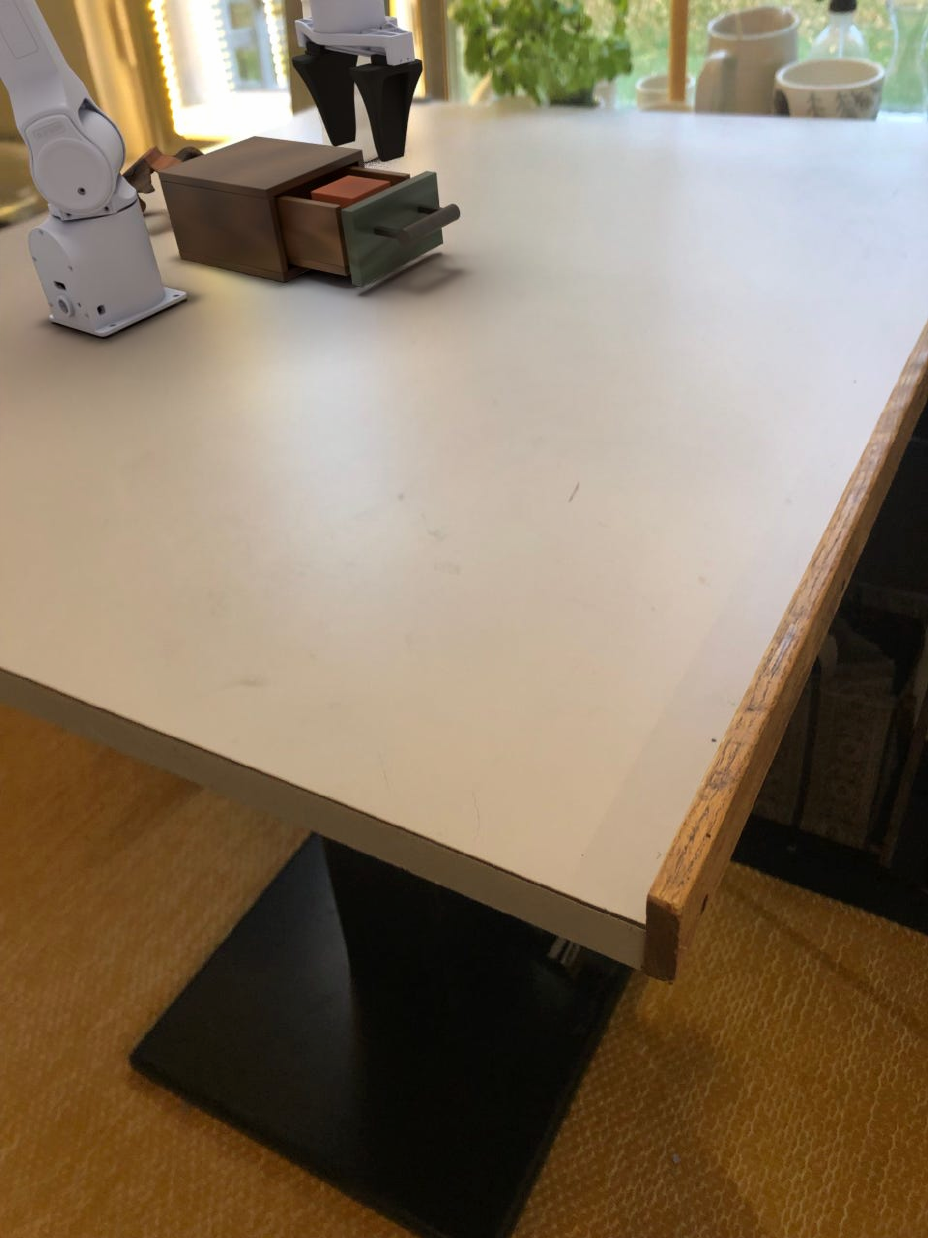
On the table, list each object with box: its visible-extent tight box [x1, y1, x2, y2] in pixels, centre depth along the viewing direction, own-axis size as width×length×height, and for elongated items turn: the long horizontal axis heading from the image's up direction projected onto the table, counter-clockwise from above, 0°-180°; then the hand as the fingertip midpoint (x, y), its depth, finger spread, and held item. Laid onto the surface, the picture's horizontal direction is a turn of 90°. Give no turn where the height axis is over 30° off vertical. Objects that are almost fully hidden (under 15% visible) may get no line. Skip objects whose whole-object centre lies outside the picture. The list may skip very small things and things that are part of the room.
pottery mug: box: [121, 145, 205, 214], centre depth 105 cm, size 12×10×8 cm
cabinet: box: [157, 135, 366, 283], centre depth 94 cm, size 15×13×8 cm
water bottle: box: [300, 0, 379, 163], centre depth 111 cm, size 7×7×25 cm
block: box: [311, 176, 390, 209], centre depth 88 cm, size 5×5×5 cm
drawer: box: [273, 165, 461, 288], centre depth 88 cm, size 18×11×6 cm, turn 53°
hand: (367, 150), depth 83 cm, fingers open, 7 cm apart
